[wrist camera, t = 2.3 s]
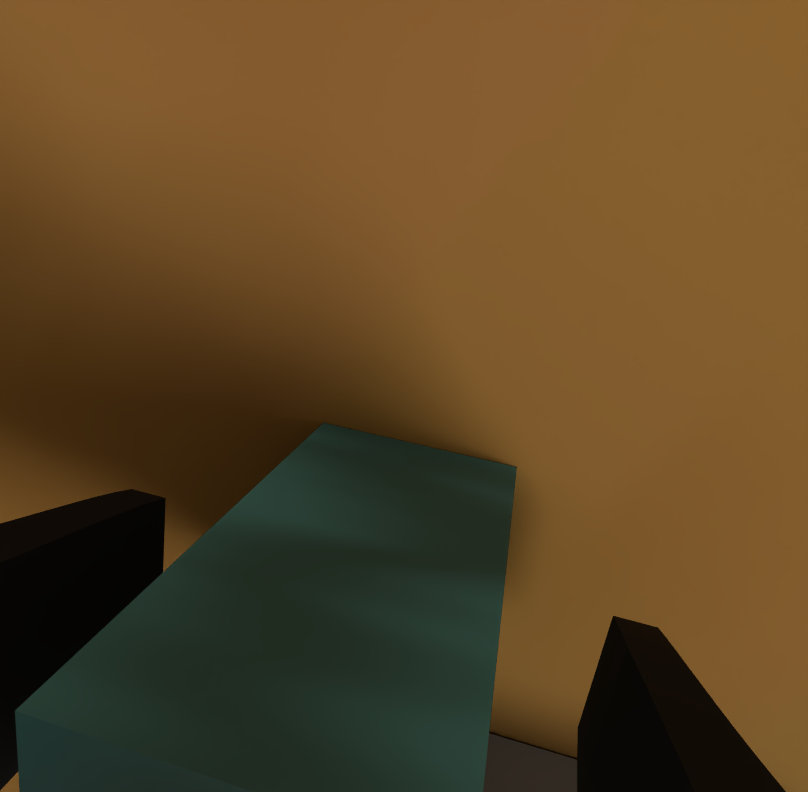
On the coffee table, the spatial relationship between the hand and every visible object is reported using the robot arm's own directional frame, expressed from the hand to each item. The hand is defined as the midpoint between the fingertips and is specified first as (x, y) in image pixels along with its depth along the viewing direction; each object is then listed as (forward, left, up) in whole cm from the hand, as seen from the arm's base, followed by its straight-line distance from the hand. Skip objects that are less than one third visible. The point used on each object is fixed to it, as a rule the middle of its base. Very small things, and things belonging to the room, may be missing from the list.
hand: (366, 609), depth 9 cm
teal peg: (0, 0, -2) cm, 2 cm away
